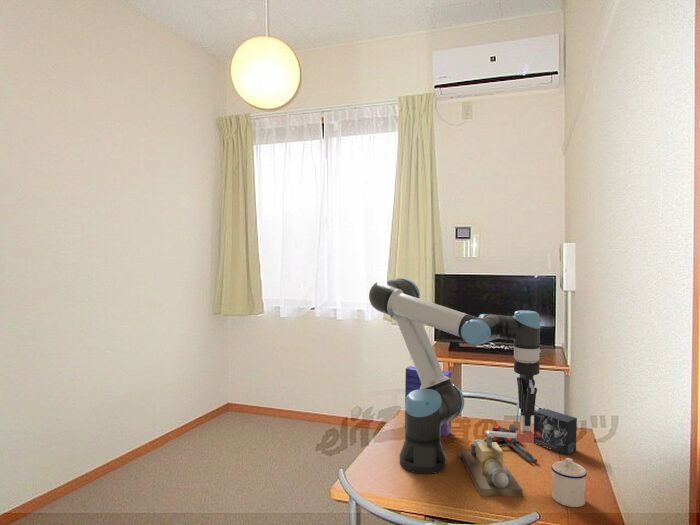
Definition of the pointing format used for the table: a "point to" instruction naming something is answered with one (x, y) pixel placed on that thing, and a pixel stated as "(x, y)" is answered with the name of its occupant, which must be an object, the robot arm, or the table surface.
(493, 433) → the valve lever
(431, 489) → the table surface
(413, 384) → the cereal box
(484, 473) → the valve stand
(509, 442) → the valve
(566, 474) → the white lidded jar
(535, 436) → the small box
